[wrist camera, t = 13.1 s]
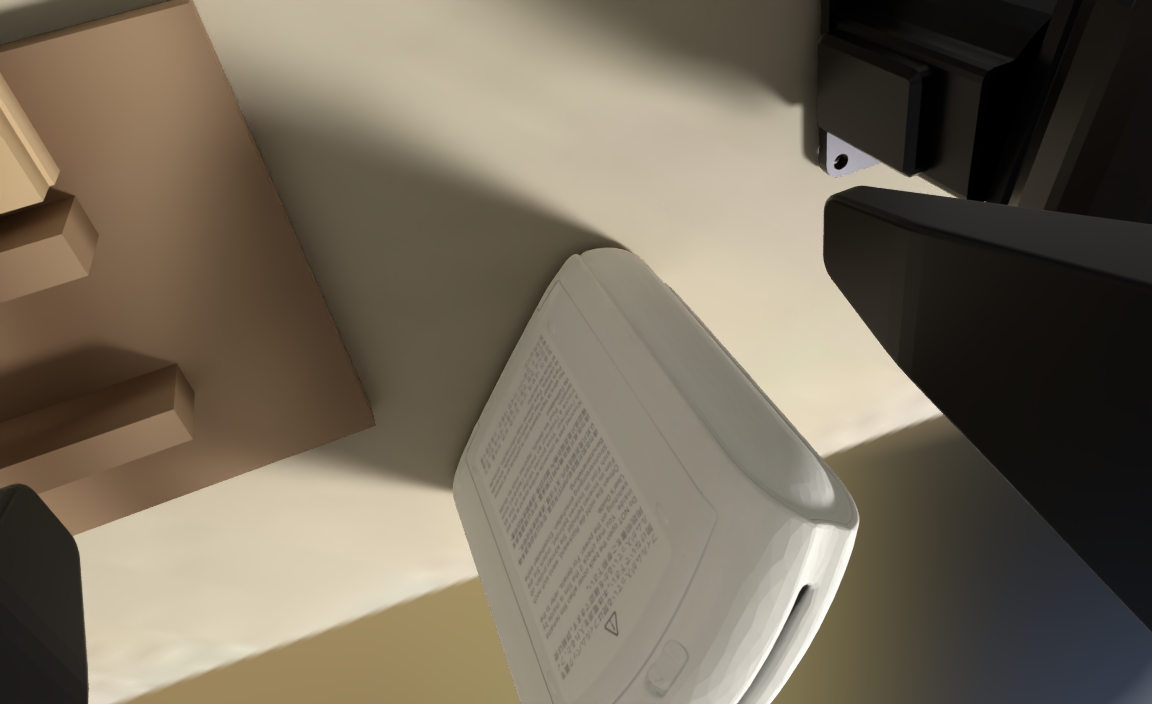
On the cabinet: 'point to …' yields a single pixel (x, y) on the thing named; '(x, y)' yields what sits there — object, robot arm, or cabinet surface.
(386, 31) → the cabinet surface
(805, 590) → the photo printer
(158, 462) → the rack
